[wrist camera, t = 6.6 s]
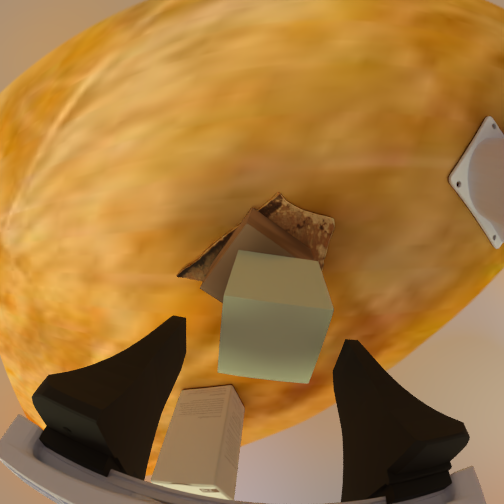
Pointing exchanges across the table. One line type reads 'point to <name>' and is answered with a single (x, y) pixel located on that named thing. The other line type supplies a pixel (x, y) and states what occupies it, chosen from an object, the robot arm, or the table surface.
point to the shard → (285, 216)
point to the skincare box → (202, 443)
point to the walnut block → (251, 249)
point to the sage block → (273, 318)
